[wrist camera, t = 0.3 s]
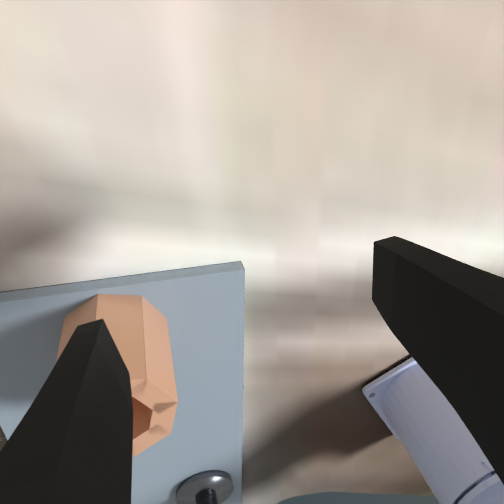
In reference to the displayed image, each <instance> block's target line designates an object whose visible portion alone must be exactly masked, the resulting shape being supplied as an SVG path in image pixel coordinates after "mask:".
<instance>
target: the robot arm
mask: <svg viewBox="0 0 504 504" xmlns="http://www.w3.org/2000/svg"><path fill="white" fill-rule="evenodd" d="M372 300H373V302H374V304H375V306H376V307H377V309H378V311H379V312H380V314H381V316H382V317H383V319H384V320H385V322H386V324H387V325H388V327H389V328H390V330H391V331H392V332H393V334H394V335H395V336H396V337H397V339H398V340H399V341H400V342H401V344H402V345H403V346H404V347H405V349H406V350H407V351H408V352H409V354H410V355H411V356H412V357H411V358H410V359H408V360H406V361H405V362H403V363H401V364H400V365H398V366H397V367H395V368H393V369H392V370H390V371H388V372H387V373H385V374H384V375H382V376H380V377H379V378H377V379H375V380H374V381H372V382H371V383H369V384H367V385H366V386H364V387H363V389H362V392H363V394H364V396H365V397H366V398H367V400H368V401H369V402H370V404H371V405H372V406H373V408H374V409H375V410H376V412H377V413H378V415H379V416H380V417H381V419H382V420H383V421H384V423H385V424H386V425H387V427H388V428H389V429H390V431H391V432H392V433H393V435H394V436H395V438H396V439H400V440H401V442H402V444H403V445H404V447H405V448H406V450H407V452H408V453H409V455H410V456H411V458H412V460H413V461H414V463H415V464H416V466H417V468H418V469H419V471H420V472H421V474H422V476H423V477H424V479H425V480H426V482H427V483H428V485H429V487H430V488H431V490H432V491H433V493H434V495H435V496H436V498H437V499H438V501H439V503H440V504H504V278H503V277H500V276H497V275H494V274H491V273H489V272H486V271H483V270H480V269H478V268H475V267H473V266H470V265H467V264H465V263H462V262H460V261H457V260H455V259H452V258H450V257H447V256H445V255H442V254H440V253H437V252H435V251H433V250H430V249H428V248H425V247H423V246H420V245H418V244H415V243H413V242H410V241H407V240H405V239H402V238H399V237H396V236H393V237H389V238H386V239H382V240H379V241H375V242H374V254H373V285H372ZM132 451H133V402H132V392H131V383H130V374H129V371H128V369H127V367H126V365H125V363H124V361H123V359H122V357H121V355H120V353H119V351H118V349H117V346H116V344H115V342H114V340H113V338H112V336H111V334H110V332H109V330H108V328H107V326H106V324H105V322H104V320H103V319H99V320H96V321H92V322H89V323H85V324H81V325H78V326H77V327H76V329H75V331H74V332H73V334H72V336H71V337H70V339H69V341H68V343H67V344H66V346H65V348H64V350H63V352H62V353H61V355H60V357H59V359H58V360H57V362H56V364H55V366H54V367H53V369H52V371H51V373H50V374H49V376H48V378H47V379H46V381H45V383H44V384H43V386H42V388H41V389H40V391H39V393H38V394H37V396H36V398H35V399H34V401H33V403H32V404H31V406H30V408H29V409H28V411H27V412H26V414H25V415H24V417H23V418H22V420H21V421H20V423H19V424H18V426H17V427H16V429H15V430H14V432H13V433H12V435H11V436H10V438H9V439H8V441H7V442H6V444H5V445H4V447H3V448H2V450H1V451H0V504H131V488H132Z"/></svg>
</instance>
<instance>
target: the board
mask: <svg viewBox="0 0 504 504" xmlns="http://www.w3.org/2000/svg"><path fill="white" fill-rule="evenodd" d="M244 289H245V269H244V266H243V264H242V262H241V261H240V262H232V263H224V264H216V265H209V266H201V267H193V268H186V269H178V270H170V271H162V272H155V273H147V274H139V275H132V276H124V277H116V278H109V279H101V280H93V281H85V282H78V283H70V284H62V285H55V286H47V287H39V288H31V289H24V290H16V291H8V292H1V293H0V426H1V428H2V430H3V432H4V434H5V436H6V438H7V440H8V439H9V438H10V436H11V435H12V433H13V432H14V430H15V429H16V427H17V426H18V424H19V423H20V421H21V420H22V418H23V417H24V415H25V414H26V412H27V411H28V409H29V408H30V406H31V404H32V403H33V401H34V399H35V398H36V396H37V394H38V393H39V391H40V389H41V388H42V386H43V384H44V383H45V381H46V379H47V378H48V376H49V374H50V373H51V371H52V369H53V367H54V366H55V364H56V360H57V355H58V349H59V344H60V339H61V333H62V328H63V322H64V317H65V316H67V315H68V314H69V313H71V312H72V311H74V310H75V309H77V308H78V307H80V306H81V305H83V304H84V303H86V302H87V301H89V300H90V299H92V298H93V297H94V296H96V295H97V294H113V295H142V296H143V297H144V298H145V299H146V300H147V301H148V302H149V303H150V304H151V305H153V306H154V307H155V308H156V309H157V310H158V311H159V312H160V313H161V314H162V315H164V316H165V317H166V318H167V324H168V331H169V338H170V346H171V353H172V361H173V368H174V375H175V383H176V390H177V397H178V404H177V409H176V413H175V418H174V422H173V426H172V431H171V434H169V435H168V436H166V437H165V438H163V439H161V440H160V441H158V442H157V443H155V444H154V445H152V446H150V447H149V448H147V449H146V450H144V451H142V452H141V453H139V454H138V455H136V456H135V457H132V488H131V504H177V503H176V489H177V487H178V486H179V485H180V483H181V482H183V481H184V480H185V479H187V478H188V477H190V476H192V475H194V474H196V473H199V472H202V471H207V470H221V471H225V472H227V473H228V474H230V476H231V478H232V482H233V486H234V489H233V492H232V494H231V495H230V497H229V498H228V499H227V500H225V501H224V502H223V503H221V504H241V498H242V428H243V359H244Z"/></svg>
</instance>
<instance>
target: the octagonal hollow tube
mask: <svg viewBox="0 0 504 504" xmlns="http://www.w3.org/2000/svg"><path fill="white" fill-rule="evenodd" d="M99 319H103V320H104V322H105V324H106V326H107V328H108V330H109V332H110V334H111V336H112V338H113V340H114V342H115V344H116V346H117V349H118V351H119V353H120V355H121V357H122V359H123V361H124V363H125V365H126V367H127V369H128V371H129V374H130V383H131V392H132V402H133V451H132V457H135V456H136V455H138V454H139V453H141V452H142V451H144V450H146V449H147V448H149V447H150V446H152V445H154V444H155V443H157V442H158V441H160V440H161V439H163V438H165V437H166V436H168V435H169V434H171V431H172V426H173V422H174V418H175V413H176V409H177V404H178V397H177V390H176V383H175V375H174V368H173V361H172V353H171V346H170V338H169V331H168V324H167V318H166V317H165V316H164V315H162V314H161V313H160V312H159V311H158V310H157V309H156V308H155V307H154V306H153V305H151V304H150V303H149V302H148V301H147V300H146V299H145V298H144V297H143V296H142V295H113V294H97V295H96V296H94V297H93V298H92V299H90V300H89V301H87V302H86V303H84V304H83V305H81V306H80V307H78V308H77V309H75V310H74V311H72V312H71V313H69V314H68V315H67V316H65V317H64V322H63V328H62V333H61V339H60V344H59V349H58V355H57V360H58V359H59V357H60V355H61V353H62V352H63V350H64V348H65V346H66V344H67V343H68V341H69V339H70V337H71V336H72V334H73V332H74V331H75V329H76V327H77V326H78V325H81V324H85V323H89V322H92V321H96V320H99ZM57 360H56V362H57Z"/></svg>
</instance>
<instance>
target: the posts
mask: <svg viewBox="0 0 504 504" xmlns="http://www.w3.org/2000/svg"><path fill="white" fill-rule="evenodd" d="M233 489H234V486H233V482H232V478H231V476H230V474H228V473H227V472H225V471H221V470H207V471H202V472H199V473H196V474H194V475H192V476H190V477H188V478H187V479H185V480H184V481H183V482H181V483H180V485H179V486H178V487H177V489H176V503H177V504H221V503H223V502H224V501H225V500H227V499H228V498H229V497H230V495H231V494H232V492H233Z"/></svg>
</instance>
